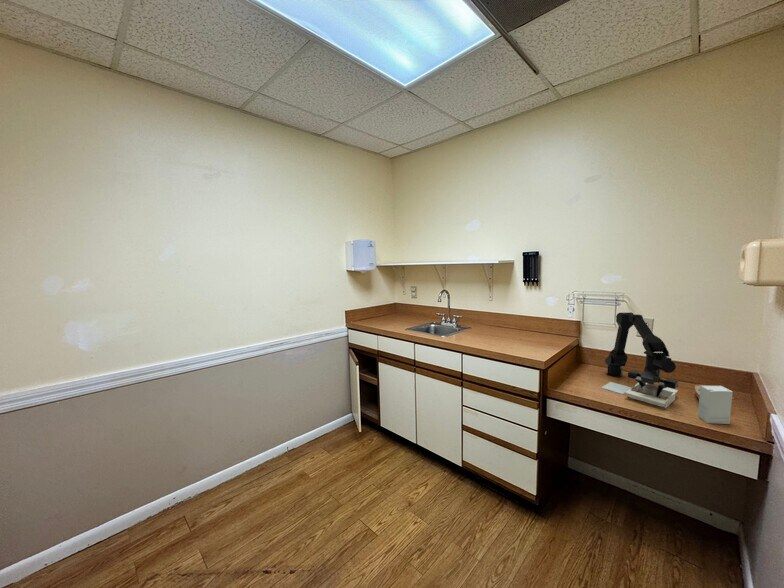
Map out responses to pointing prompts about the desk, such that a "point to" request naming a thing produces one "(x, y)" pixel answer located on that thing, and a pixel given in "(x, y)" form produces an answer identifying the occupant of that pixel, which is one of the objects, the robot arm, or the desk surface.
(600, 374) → the desk surface
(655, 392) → the box
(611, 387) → the mat
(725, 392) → the skincare box
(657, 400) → the white shallow rectangular tray
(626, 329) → the robot arm
